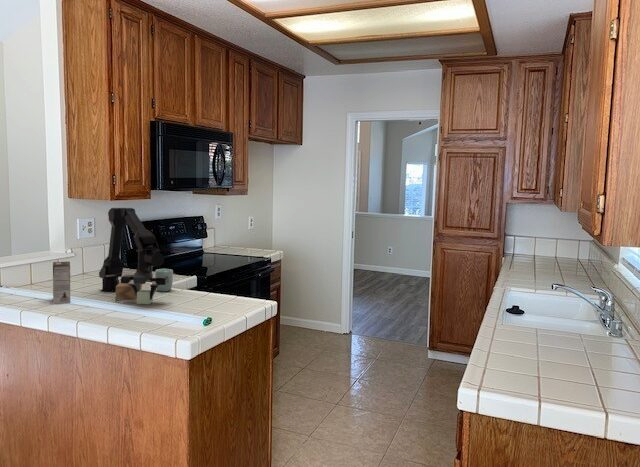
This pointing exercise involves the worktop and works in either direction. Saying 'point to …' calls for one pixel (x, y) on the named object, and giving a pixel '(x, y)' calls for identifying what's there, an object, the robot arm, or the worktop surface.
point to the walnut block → (125, 292)
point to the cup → (165, 273)
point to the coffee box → (61, 282)
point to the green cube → (144, 297)
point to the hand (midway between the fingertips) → (144, 299)
